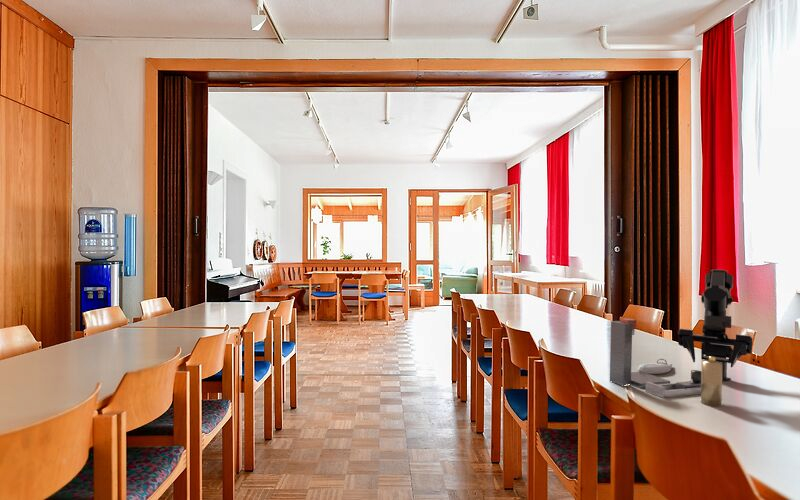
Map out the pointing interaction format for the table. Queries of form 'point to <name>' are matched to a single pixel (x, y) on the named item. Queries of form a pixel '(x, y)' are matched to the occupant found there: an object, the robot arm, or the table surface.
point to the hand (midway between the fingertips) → (712, 363)
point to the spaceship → (655, 367)
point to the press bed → (626, 356)
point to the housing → (711, 382)
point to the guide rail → (669, 390)
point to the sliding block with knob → (693, 383)
